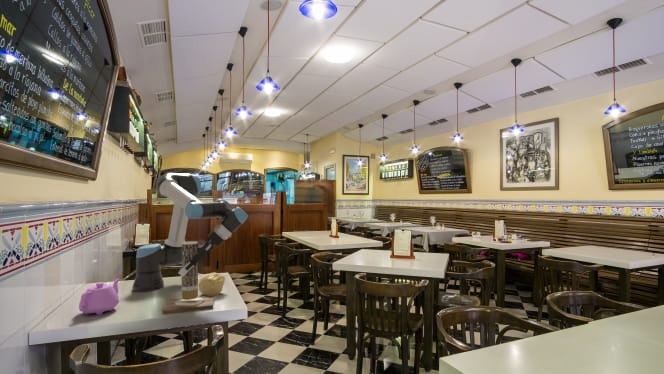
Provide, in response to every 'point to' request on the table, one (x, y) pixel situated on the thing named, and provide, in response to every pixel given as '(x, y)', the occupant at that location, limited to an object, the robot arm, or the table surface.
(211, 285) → the sculpture
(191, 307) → the walnut board
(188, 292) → the paper tube
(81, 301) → the teapot
